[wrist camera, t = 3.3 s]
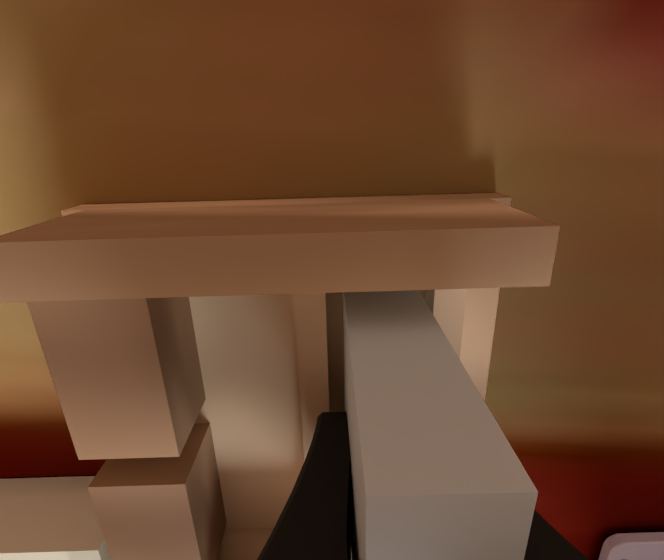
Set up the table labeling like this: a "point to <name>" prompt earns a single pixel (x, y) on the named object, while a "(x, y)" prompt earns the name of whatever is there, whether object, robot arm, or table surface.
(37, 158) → the table surface
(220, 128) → the table surface
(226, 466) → the rack
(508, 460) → the block
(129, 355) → the offcut
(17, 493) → the tray
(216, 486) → the offcut
